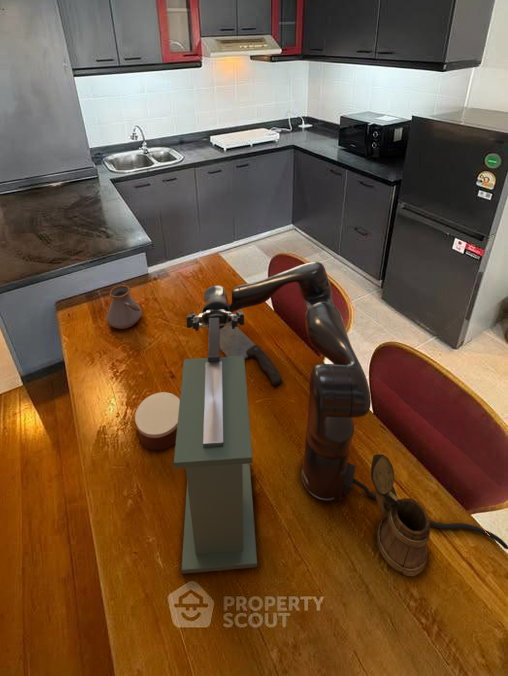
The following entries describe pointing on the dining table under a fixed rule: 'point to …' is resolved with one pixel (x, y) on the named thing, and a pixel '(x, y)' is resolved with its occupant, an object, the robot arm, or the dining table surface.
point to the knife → (213, 390)
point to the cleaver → (247, 351)
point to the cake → (158, 420)
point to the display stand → (216, 473)
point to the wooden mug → (399, 523)
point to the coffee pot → (122, 308)
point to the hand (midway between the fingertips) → (215, 325)
